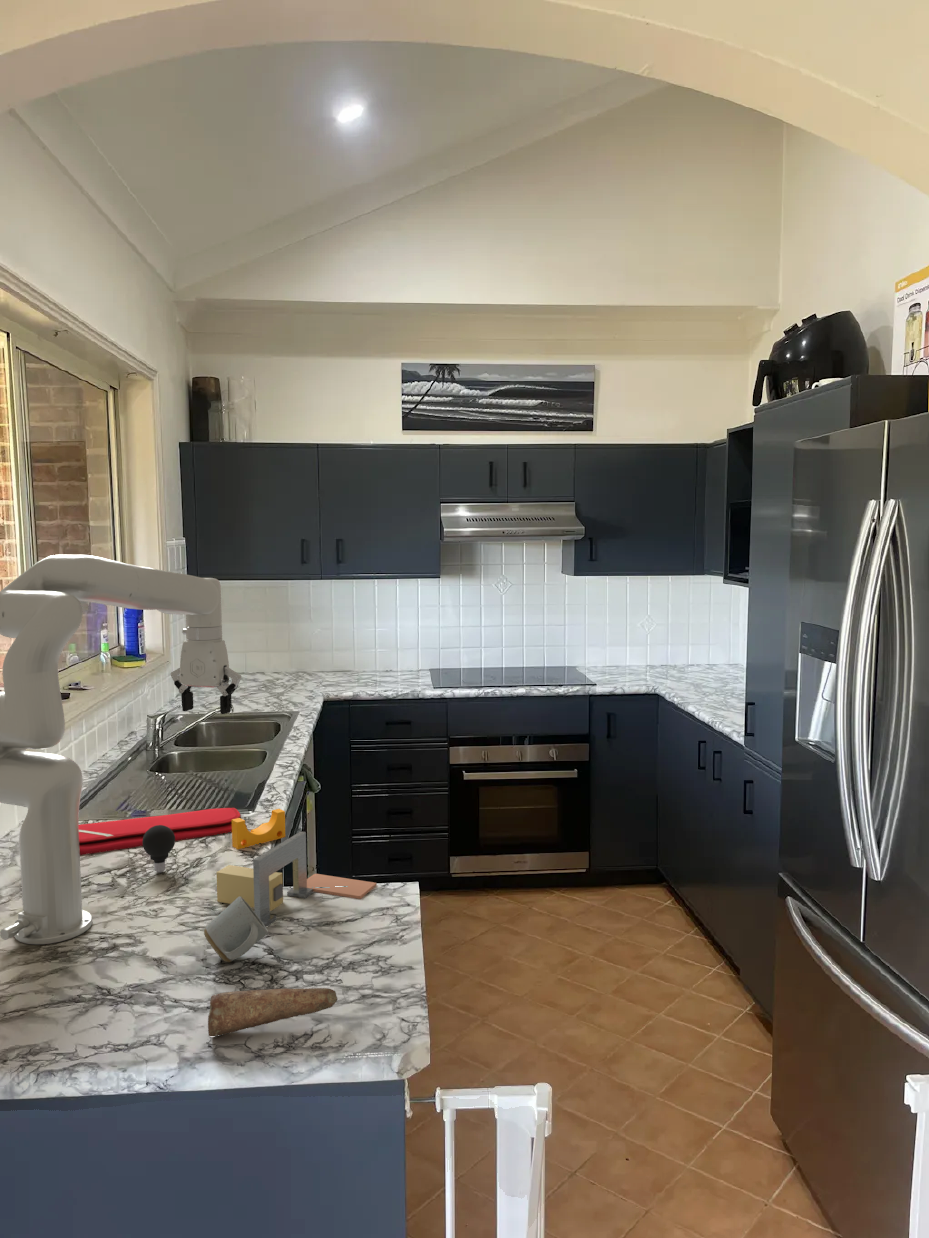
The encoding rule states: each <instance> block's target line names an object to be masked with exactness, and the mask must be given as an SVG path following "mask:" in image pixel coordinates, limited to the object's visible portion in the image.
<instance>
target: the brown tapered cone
mask: <svg viewBox="0 0 929 1238" xmlns="http://www.w3.org/2000/svg"><path fill="white" fill-rule="evenodd" d="M337 1002H338V996H337V992H336V991H335V990H334V989H332V988H329V987H328V988H325V987H323V988H322V987H314V988H313V987H310V988H306V987H305V988H271V989H252V990H250V989H249V990H240V991H239V990H233V991H226V992H224V991H223V992H219V993H215V994H213V995H211V996H210V1001H209V1013H208V1017H207V1032H208V1036H218V1035H222V1034H224V1035H227V1034H230V1032H231V1033H234V1032H238V1031H242V1030H247V1029H249V1028H250V1029H251V1028H255V1027H258V1026H259V1027H260V1026H262V1025H268V1024H272V1023H275V1022H277V1021H281V1020H287V1019H290V1018H291V1019H292V1018H294V1017H300V1016H305V1015H311V1014H314V1013H318V1012H321V1011H323V1010H326V1009H330V1008H332V1007H333V1006H334V1005H335V1003H337ZM246 1028H247V1029H246ZM226 1033H227V1034H226ZM222 1036H223V1035H222Z"/></svg>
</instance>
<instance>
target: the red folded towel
mask: <svg viewBox="0 0 929 1238" xmlns="http://www.w3.org/2000/svg"><path fill="white" fill-rule="evenodd" d="M241 816H242V815H241V813H240V812H239V810H238V809H237V808H235V807H222V808H220V807H218V808H207V809H206V808H205V809H201V810H194V811H193V810H192V811H187V812H186V811H185V812H179V813H171V814H164V815H156V816H155V815H154V816H145V817H135V818H128V819H127V818H126V819H118V820H109V821H100V822H90V823H83V824H79V849H80V856H83V855H92V854H98V853H105V852H111V851H112V852H113V851H119V850H127V849H133V848H139V847H143V843H142V841H143V837H144V835H145V833H146V832H147V830H149V829H150V828H151V827H153V826H156V825H164V826H167V827H169V828H170V829H171V830H172V831H173V833H174V835H175V842H178V841H180V842H181V841H186V840H192V839H198V838H205V837H212V836H217V834H219V835H224V834H223V833H225V834H229V833H228V832H230V833H232V819H237V818H242V817H241ZM246 827H247V825H246ZM247 828H248V827H247Z"/></svg>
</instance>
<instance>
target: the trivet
mask: <svg viewBox="0 0 929 1238" xmlns="http://www.w3.org/2000/svg"><path fill="white" fill-rule="evenodd" d="M375 885H377V882H373V881H366V880H362V879H361V880H359V879H353V878H349V877H348V878H346V877H340V876H335V875H334V876H333V875H327V874H320V873H314V874H312V875H311V876H309V877H307V888H310V889H313V893H314V892H315V893H321V894H327V895H332V896H340V897H347V898H351V899H356V900H361V899H363V897H364V896H366V895H367V894H368V893H369V892H370V891H372V890H373V889H374V888H376V886H375ZM335 886H348V887H335ZM312 887H313V888H312ZM315 887H330V888H315Z"/></svg>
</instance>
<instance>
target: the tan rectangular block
mask: <svg viewBox="0 0 929 1238" xmlns="http://www.w3.org/2000/svg"><path fill="white" fill-rule="evenodd" d="M215 874H216V899H217V900H216V902H218V903H223V904H224V903H225V904H229V905H230V904H231V903H232V902H233V901H235V900H236V899H237V898H238V897H239V896H240V897H242V898H243V899H244V900H245V901H246V902H247V903H248V905H249V906H250V907H251V908H252V909H254V908H253V907H254V873H253V867H252V868H250V867H245V866H238V865H233V864H232V865H231V864H228V865H226V866H225V867H223V868H221V869H220V870H218V871H216V873H215ZM283 883H284V882H283V872H278V871H276V872H275V873H273V874H272V875H270V876H269V901H270V912H271V911H273V910H275V909H276V908H278V907H279V906H280V905H282V904H283V903H284V884H283Z"/></svg>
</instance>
